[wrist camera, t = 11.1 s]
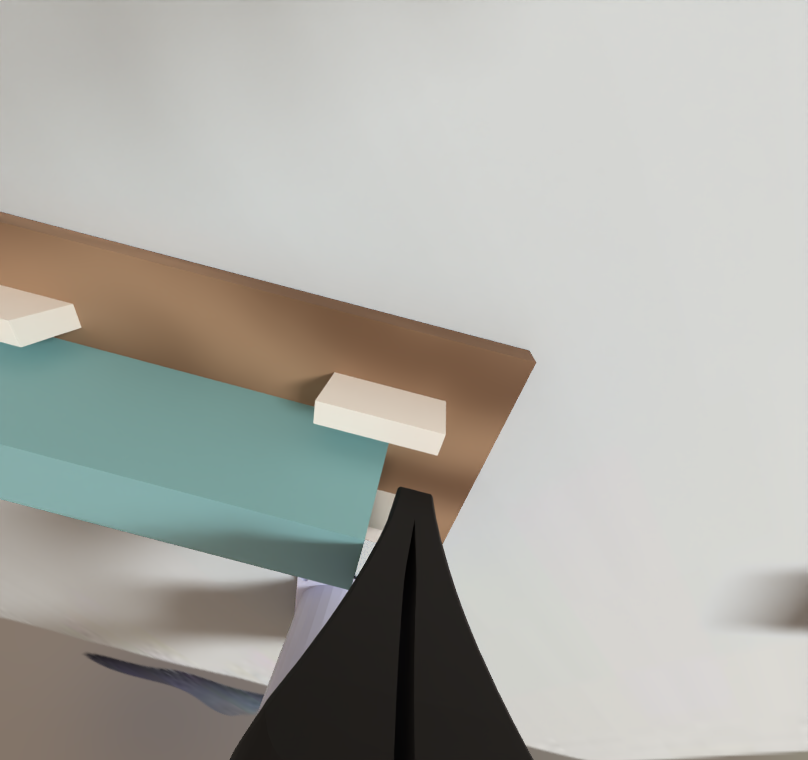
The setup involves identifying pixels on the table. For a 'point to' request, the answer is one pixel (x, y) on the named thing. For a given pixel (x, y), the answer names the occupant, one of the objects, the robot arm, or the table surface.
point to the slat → (184, 460)
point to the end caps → (334, 407)
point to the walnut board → (274, 343)
